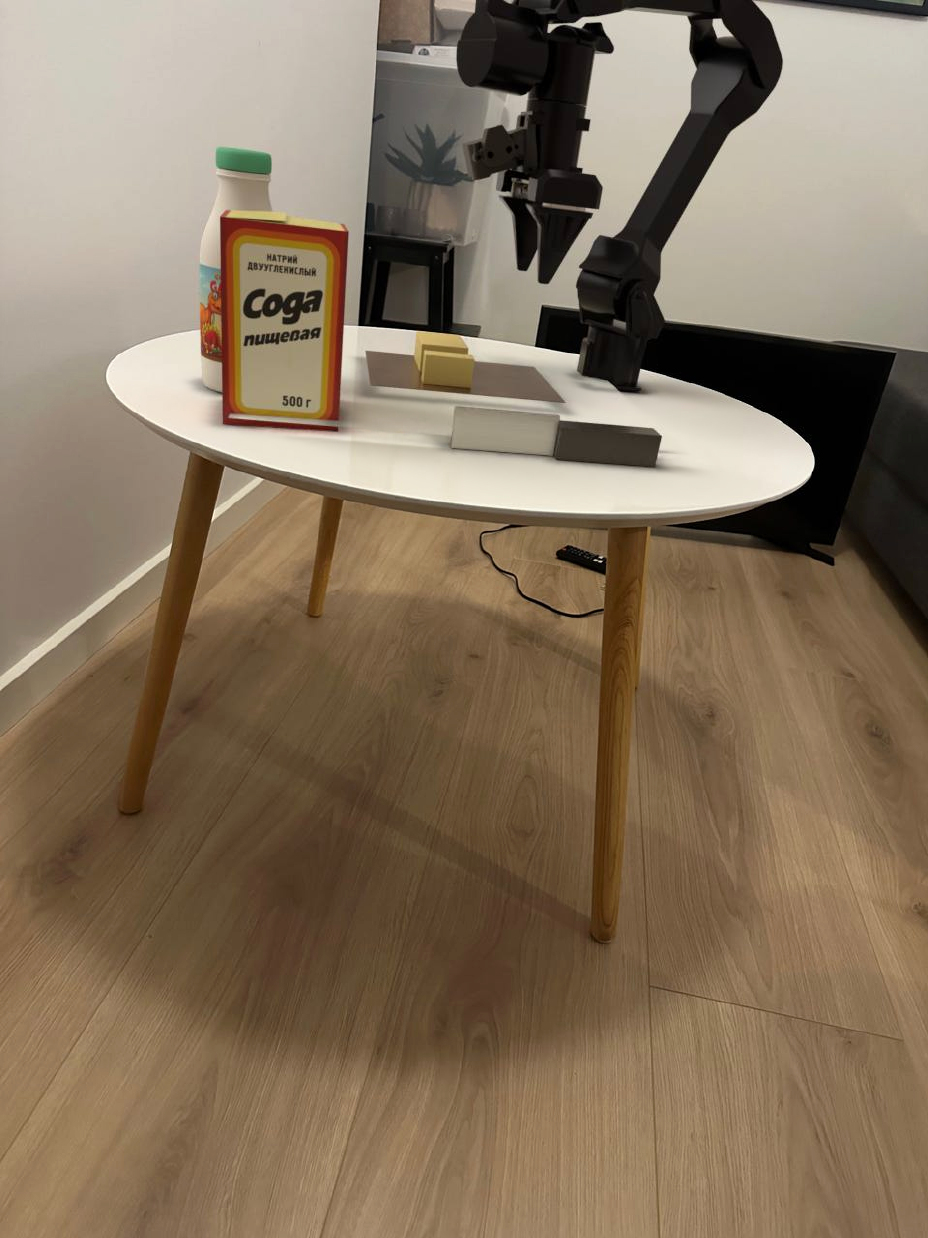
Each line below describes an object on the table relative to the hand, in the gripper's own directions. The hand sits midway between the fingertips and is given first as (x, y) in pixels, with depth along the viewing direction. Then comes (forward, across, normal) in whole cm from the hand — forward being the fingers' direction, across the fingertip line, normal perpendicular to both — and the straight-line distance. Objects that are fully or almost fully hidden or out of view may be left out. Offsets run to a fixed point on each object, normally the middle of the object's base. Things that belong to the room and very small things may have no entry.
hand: (532, 276), depth 89 cm
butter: (+11, -3, -8) cm, 14 cm away
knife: (+12, +23, -2) cm, 26 cm away
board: (+12, 0, -6) cm, 13 cm away
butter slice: (+11, +5, -9) cm, 15 cm away
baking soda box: (+12, +18, -25) cm, 33 cm away
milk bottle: (+12, +8, -29) cm, 32 cm away
